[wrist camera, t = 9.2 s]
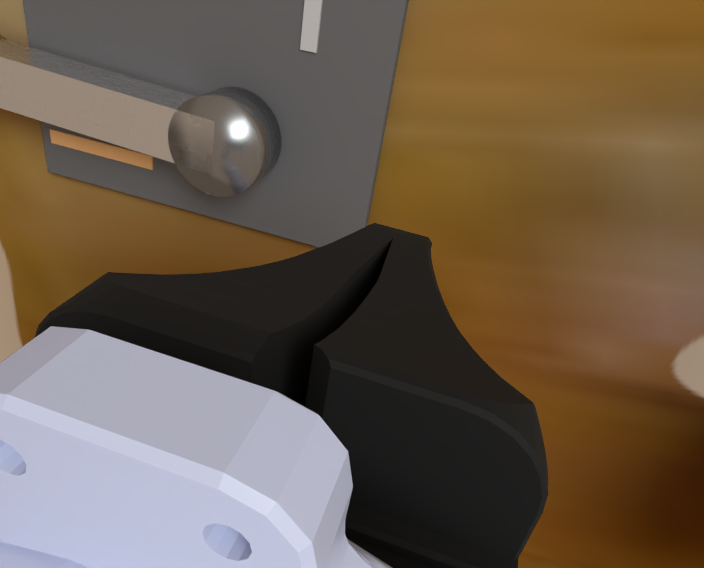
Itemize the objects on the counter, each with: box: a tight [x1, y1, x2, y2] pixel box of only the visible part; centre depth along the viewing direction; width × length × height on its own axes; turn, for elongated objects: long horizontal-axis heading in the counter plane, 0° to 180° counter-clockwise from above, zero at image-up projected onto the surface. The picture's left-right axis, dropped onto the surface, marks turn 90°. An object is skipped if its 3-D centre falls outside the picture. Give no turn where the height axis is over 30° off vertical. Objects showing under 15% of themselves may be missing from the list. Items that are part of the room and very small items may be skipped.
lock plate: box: [23, 0, 409, 247], centre depth 20 cm, size 16×15×1 cm
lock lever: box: [0, 35, 282, 197], centre depth 21 cm, size 14×4×2 cm, turn 78°
